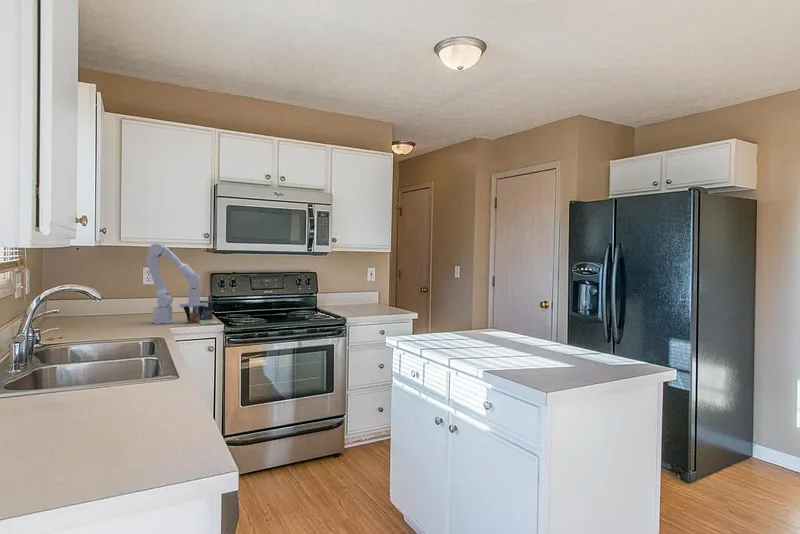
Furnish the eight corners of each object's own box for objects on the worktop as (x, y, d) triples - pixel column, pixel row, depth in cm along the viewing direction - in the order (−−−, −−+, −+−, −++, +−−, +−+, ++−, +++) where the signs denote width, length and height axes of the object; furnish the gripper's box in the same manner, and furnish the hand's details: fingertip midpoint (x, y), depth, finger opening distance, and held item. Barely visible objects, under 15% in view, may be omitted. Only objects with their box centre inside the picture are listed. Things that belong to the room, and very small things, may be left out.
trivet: (202, 325, 264) (202, 323, 264) (198, 323, 271) (198, 321, 271) (219, 324, 269) (219, 322, 269) (215, 322, 276) (215, 320, 276)
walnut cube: (189, 323, 269) (190, 314, 269) (188, 322, 273) (188, 313, 273) (199, 322, 272) (199, 313, 272) (197, 321, 276) (197, 313, 276)
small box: (191, 318, 289) (191, 301, 289) (200, 317, 295) (201, 300, 295) (203, 320, 284) (204, 302, 284) (212, 319, 290) (213, 301, 290)
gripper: (181, 296, 265) (181, 321, 265) (209, 296, 273) (209, 320, 273) (179, 295, 271) (178, 320, 271) (206, 295, 279) (206, 318, 279)
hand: (193, 320), depth 273 cm, fingers closed on walnut cube, 5 cm apart
